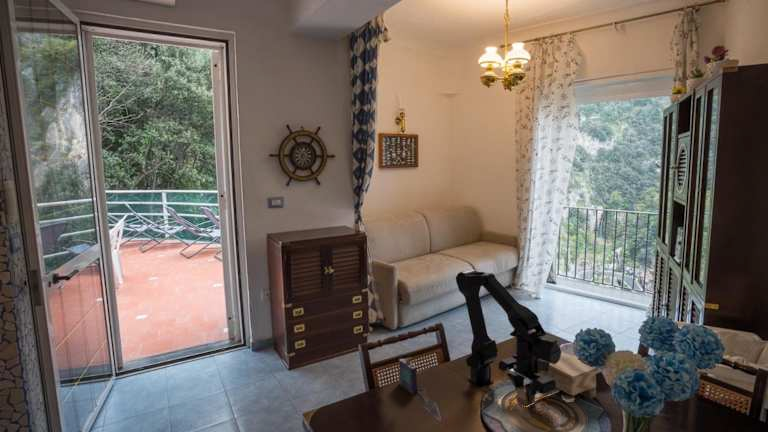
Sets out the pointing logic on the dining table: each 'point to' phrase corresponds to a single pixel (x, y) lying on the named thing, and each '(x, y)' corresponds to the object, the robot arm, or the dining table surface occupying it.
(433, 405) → the throwing knife
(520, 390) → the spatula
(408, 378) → the flask
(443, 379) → the dining table surface
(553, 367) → the wooden crate
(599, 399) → the dining table surface
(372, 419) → the dining table surface
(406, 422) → the dining table surface
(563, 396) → the steel token
